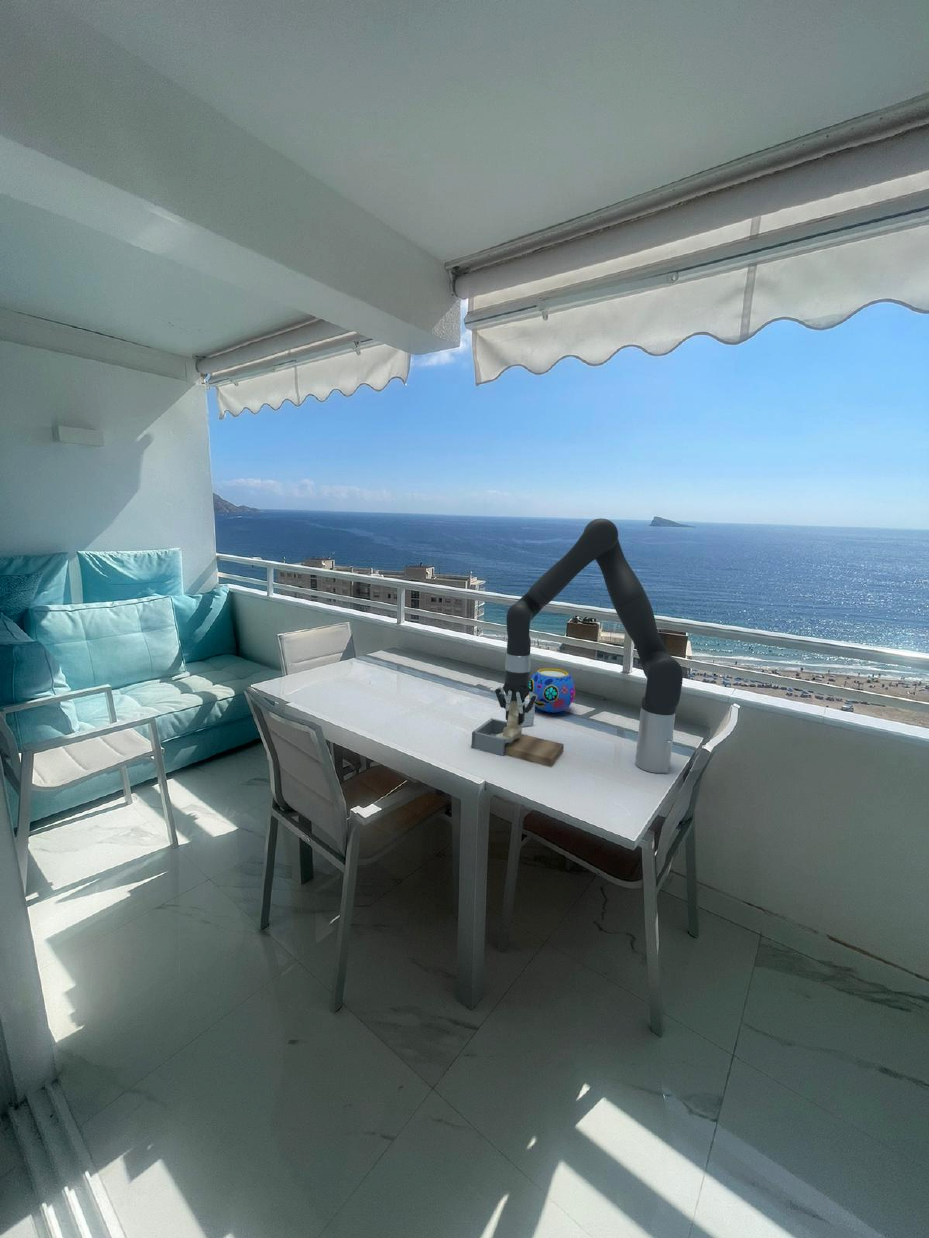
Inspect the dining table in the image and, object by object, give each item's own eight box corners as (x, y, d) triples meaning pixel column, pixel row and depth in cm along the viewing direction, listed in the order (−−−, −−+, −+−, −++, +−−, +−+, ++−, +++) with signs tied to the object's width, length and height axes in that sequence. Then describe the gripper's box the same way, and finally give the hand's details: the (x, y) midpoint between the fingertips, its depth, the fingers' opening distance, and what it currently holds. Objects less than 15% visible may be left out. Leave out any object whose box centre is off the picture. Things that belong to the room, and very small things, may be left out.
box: (520, 739, 155) (521, 724, 154) (502, 755, 143) (503, 740, 142) (490, 732, 160) (491, 718, 159) (471, 747, 148) (472, 732, 147)
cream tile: (513, 736, 151) (510, 730, 151) (508, 742, 146) (506, 736, 147) (499, 740, 153) (496, 734, 153) (494, 746, 148) (491, 740, 148)
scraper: (520, 736, 149) (525, 701, 150) (511, 740, 142) (516, 702, 143) (511, 734, 151) (516, 699, 151) (502, 737, 144) (507, 701, 144)
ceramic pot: (517, 709, 183) (519, 670, 180) (544, 699, 196) (547, 663, 193) (555, 722, 171) (559, 682, 168) (582, 711, 183) (585, 673, 181)
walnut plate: (563, 751, 148) (563, 743, 147) (551, 767, 137) (551, 758, 137) (520, 741, 154) (520, 733, 154) (505, 755, 143) (506, 747, 143)
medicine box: (527, 721, 171) (529, 698, 170) (533, 726, 167) (535, 702, 166) (507, 723, 168) (509, 699, 167) (513, 728, 164) (515, 704, 163)
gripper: (491, 667, 144) (488, 722, 147) (535, 674, 138) (532, 731, 141) (501, 662, 151) (498, 714, 154) (544, 669, 145) (540, 723, 147)
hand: (514, 722), depth 147 cm, fingers closed on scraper, 3 cm apart
